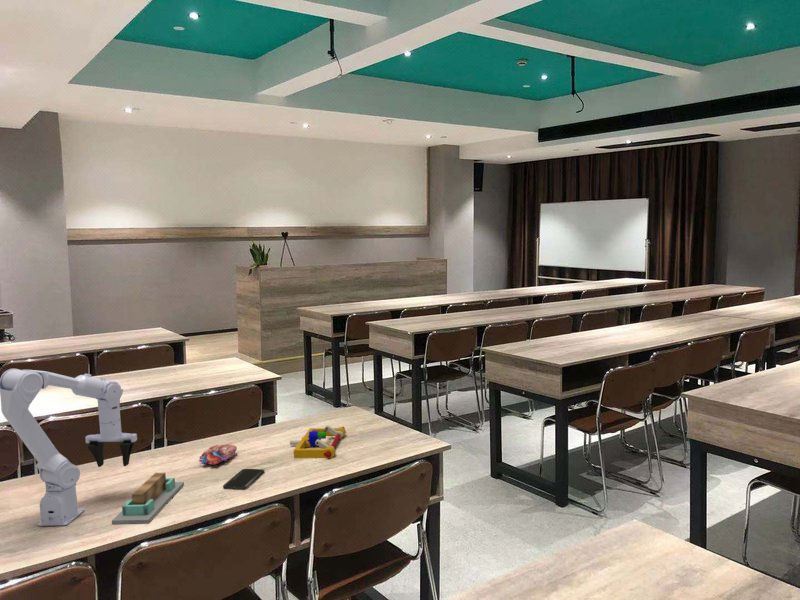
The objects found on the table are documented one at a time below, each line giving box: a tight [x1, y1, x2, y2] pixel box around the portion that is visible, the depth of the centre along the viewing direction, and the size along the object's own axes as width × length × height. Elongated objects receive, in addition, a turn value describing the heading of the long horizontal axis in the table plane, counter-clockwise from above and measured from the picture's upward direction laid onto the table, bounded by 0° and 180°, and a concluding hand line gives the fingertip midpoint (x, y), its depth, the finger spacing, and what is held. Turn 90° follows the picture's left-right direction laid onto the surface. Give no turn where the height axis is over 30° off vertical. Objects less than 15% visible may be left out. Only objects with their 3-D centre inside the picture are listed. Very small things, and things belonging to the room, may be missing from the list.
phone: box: [222, 468, 265, 491], centre depth 195 cm, size 8×1×15 cm
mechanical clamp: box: [289, 424, 347, 459], centre depth 227 cm, size 18×6×30 cm
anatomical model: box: [198, 443, 238, 466], centre depth 213 cm, size 11×6×15 cm
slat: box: [131, 472, 167, 505], centre depth 180 cm, size 16×3×5 cm, turn 179°
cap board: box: [111, 477, 185, 525], centre depth 180 cm, size 26×10×4 cm, turn 179°
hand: (113, 465), depth 185 cm, fingers open, 7 cm apart
